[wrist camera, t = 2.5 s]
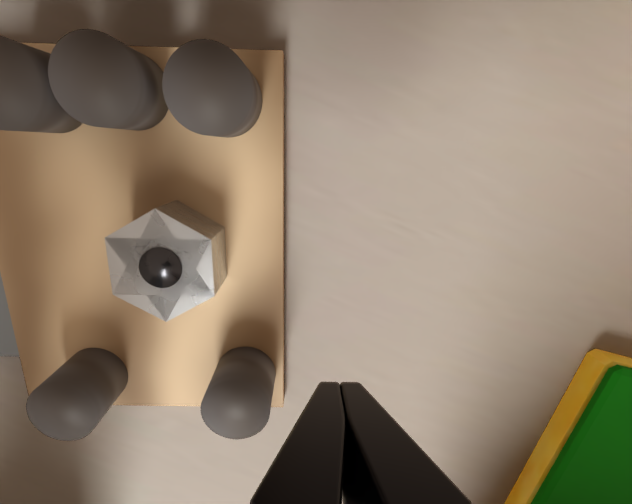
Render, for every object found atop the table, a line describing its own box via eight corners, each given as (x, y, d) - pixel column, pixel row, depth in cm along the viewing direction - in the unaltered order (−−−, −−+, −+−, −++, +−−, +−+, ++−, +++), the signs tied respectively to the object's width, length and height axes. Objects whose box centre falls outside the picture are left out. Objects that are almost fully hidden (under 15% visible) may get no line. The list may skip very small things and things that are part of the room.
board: (40, 394, 21) (-17, 446, 17) (-35, 45, 16) (-138, 15, 12) (284, 397, 21) (278, 449, 18) (284, 55, 16) (276, 28, 13)
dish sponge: (692, 371, 22) (738, 398, 19) (583, 538, 25) (611, 578, 23) (584, 343, 21) (618, 367, 19) (489, 518, 25) (507, 557, 22)
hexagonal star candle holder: (141, 298, 19) (115, 321, 16) (129, 198, 17) (99, 207, 15) (228, 300, 19) (215, 323, 16) (223, 200, 17) (208, 209, 15)
